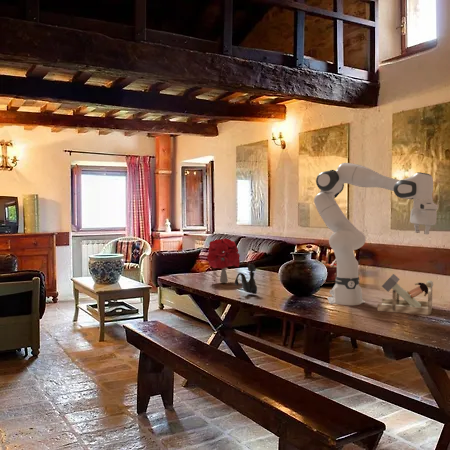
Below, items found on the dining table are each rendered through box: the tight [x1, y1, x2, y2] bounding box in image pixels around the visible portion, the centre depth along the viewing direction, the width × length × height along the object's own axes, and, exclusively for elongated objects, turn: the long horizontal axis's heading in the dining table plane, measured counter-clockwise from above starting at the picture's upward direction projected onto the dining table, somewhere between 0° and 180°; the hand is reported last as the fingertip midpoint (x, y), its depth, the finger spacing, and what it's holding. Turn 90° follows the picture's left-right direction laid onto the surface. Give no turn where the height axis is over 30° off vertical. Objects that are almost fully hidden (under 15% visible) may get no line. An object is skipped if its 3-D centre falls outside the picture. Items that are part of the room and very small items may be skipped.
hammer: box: [381, 273, 421, 307], centre depth 241 cm, size 20×14×6 cm
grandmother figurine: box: [406, 280, 434, 299], centre depth 240 cm, size 8×4×13 cm
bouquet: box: [206, 237, 241, 284], centre depth 333 cm, size 22×24×30 cm
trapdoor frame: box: [377, 287, 433, 316], centre depth 240 cm, size 24×18×11 cm
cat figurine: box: [234, 262, 258, 295], centre depth 287 cm, size 10×14×18 cm
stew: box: [323, 258, 337, 284], centre depth 324 cm, size 28×24×16 cm
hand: (421, 233), depth 241 cm, fingers open, 8 cm apart
